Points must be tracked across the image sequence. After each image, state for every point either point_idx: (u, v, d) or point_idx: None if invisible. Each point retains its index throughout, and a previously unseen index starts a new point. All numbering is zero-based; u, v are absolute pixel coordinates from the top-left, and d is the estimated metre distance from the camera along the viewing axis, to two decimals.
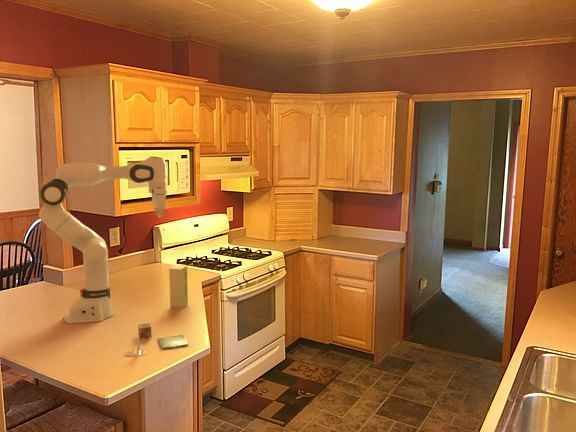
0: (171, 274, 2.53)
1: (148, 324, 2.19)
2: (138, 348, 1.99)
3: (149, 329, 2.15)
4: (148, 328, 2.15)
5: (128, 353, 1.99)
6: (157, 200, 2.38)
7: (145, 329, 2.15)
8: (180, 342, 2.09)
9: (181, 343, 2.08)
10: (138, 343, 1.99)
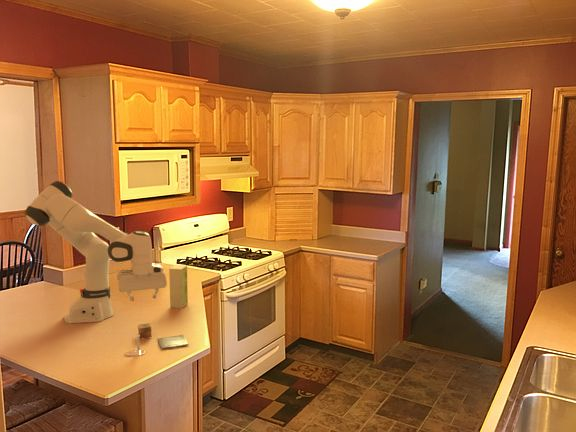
0: (171, 274, 2.53)
1: (148, 324, 2.18)
2: (138, 348, 1.99)
3: (149, 329, 2.15)
4: (148, 328, 2.15)
5: (128, 353, 1.99)
6: (165, 277, 2.16)
7: (145, 329, 2.15)
8: (180, 342, 2.09)
9: (181, 343, 2.08)
10: (138, 343, 1.99)
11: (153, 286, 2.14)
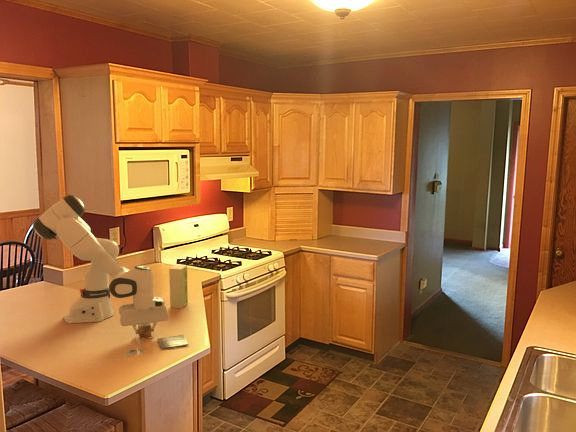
0: (171, 274, 2.53)
1: (148, 324, 2.18)
2: (138, 348, 1.99)
3: (149, 329, 2.15)
4: (148, 328, 2.15)
5: (128, 353, 1.99)
6: None
7: (144, 328, 2.15)
8: (180, 342, 2.09)
9: (181, 343, 2.08)
10: (138, 343, 1.99)
11: (154, 320, 2.17)
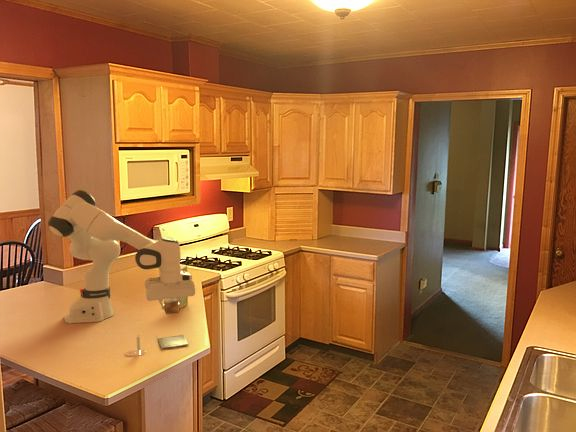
0: None
1: (174, 299, 2.09)
2: (138, 348, 1.99)
3: (176, 304, 2.06)
4: (174, 303, 2.06)
5: (128, 353, 1.99)
6: None
7: (171, 303, 2.05)
8: (180, 342, 2.09)
9: (181, 343, 2.08)
10: (138, 343, 1.99)
11: (181, 294, 2.07)
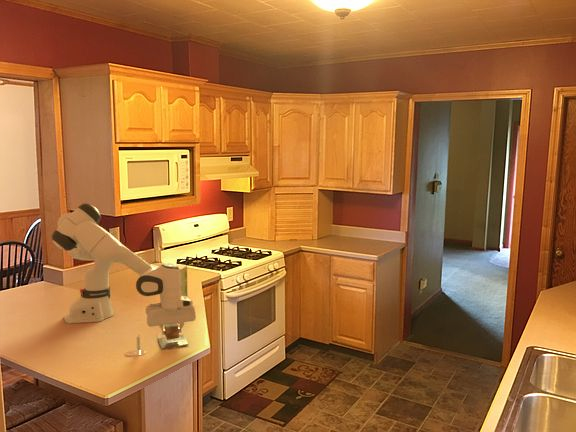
0: None
1: (175, 324, 2.11)
2: (138, 348, 1.99)
3: (176, 329, 2.08)
4: (175, 328, 2.07)
5: (128, 353, 1.99)
6: (194, 310, 2.11)
7: (172, 329, 2.07)
8: (180, 342, 2.09)
9: (181, 343, 2.08)
10: (138, 343, 1.99)
11: (182, 320, 2.09)
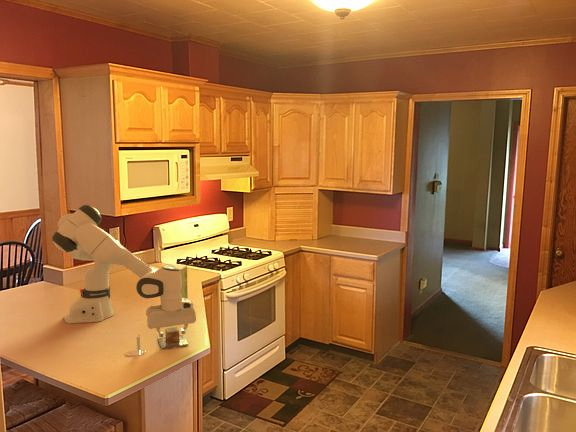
0: None
1: (175, 328, 2.11)
2: (138, 348, 1.99)
3: (177, 333, 2.08)
4: (175, 332, 2.08)
5: (128, 353, 1.99)
6: None
7: (172, 333, 2.07)
8: (180, 342, 2.09)
9: (181, 343, 2.08)
10: (138, 343, 1.99)
11: (182, 322, 2.09)
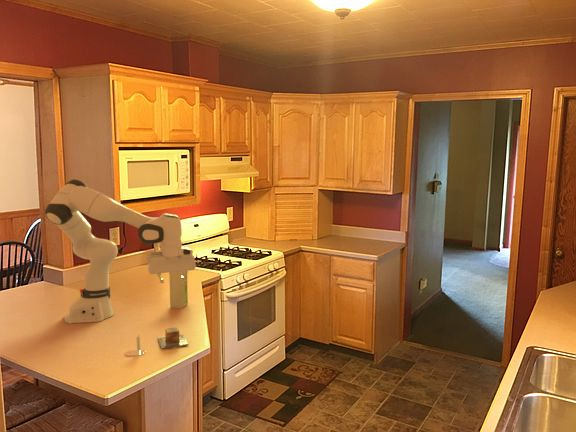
0: (171, 274, 2.53)
1: (175, 328, 2.11)
2: (138, 348, 1.99)
3: (177, 333, 2.08)
4: (175, 332, 2.08)
5: (128, 353, 1.99)
6: (194, 260, 2.17)
7: (172, 333, 2.07)
8: (180, 342, 2.09)
9: (181, 343, 2.08)
10: (138, 343, 1.99)
11: (182, 268, 2.15)
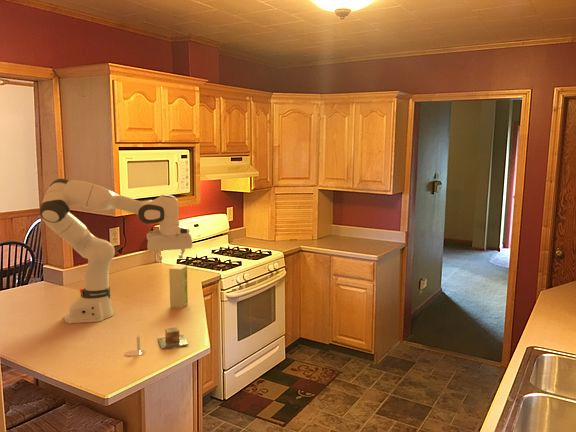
0: (171, 274, 2.53)
1: (175, 328, 2.11)
2: (138, 348, 1.99)
3: (177, 333, 2.08)
4: (175, 332, 2.08)
5: (128, 353, 1.99)
6: None
7: (172, 333, 2.07)
8: (180, 342, 2.09)
9: (181, 343, 2.08)
10: (138, 343, 1.99)
11: (180, 246, 2.29)
